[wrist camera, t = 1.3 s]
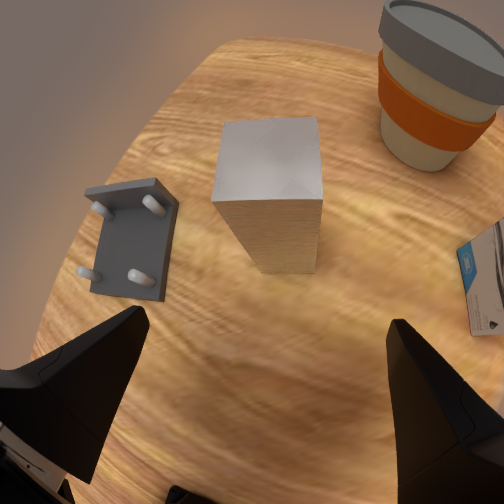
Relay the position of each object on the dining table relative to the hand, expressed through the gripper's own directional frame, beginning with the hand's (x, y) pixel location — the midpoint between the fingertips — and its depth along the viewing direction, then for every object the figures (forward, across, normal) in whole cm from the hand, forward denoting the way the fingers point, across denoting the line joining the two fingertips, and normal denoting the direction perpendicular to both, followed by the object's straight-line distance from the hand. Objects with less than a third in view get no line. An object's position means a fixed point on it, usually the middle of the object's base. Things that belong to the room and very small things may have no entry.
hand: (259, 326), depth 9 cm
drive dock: (+14, +16, +5) cm, 21 cm away
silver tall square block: (+14, 0, +4) cm, 15 cm away
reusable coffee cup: (+23, -14, -5) cm, 28 cm away
